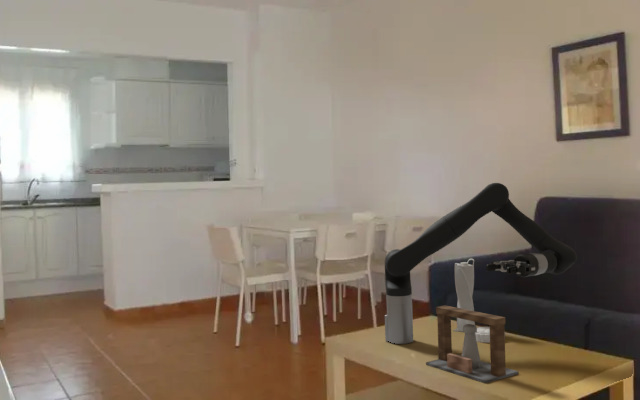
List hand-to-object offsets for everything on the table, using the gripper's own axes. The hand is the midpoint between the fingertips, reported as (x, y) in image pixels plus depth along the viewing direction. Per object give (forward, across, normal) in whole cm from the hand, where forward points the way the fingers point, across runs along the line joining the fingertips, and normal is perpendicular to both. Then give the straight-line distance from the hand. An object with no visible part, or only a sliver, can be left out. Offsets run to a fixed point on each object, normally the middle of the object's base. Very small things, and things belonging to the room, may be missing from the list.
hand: (497, 269), depth 216 cm
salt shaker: (+14, +2, +29) cm, 32 cm away
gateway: (+14, +2, +29) cm, 33 cm away
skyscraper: (-22, -35, +30) cm, 51 cm away
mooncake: (-18, -21, +30) cm, 41 cm away
